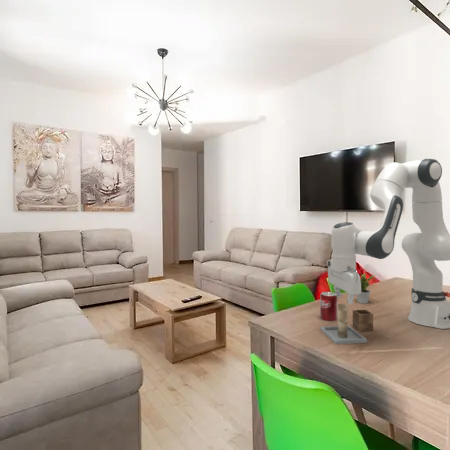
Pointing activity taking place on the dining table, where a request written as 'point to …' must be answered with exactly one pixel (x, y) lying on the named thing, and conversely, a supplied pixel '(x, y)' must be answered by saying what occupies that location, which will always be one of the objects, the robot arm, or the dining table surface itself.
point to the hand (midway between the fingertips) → (343, 300)
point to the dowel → (342, 320)
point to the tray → (351, 338)
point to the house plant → (364, 289)
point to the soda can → (328, 306)
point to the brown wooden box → (362, 320)
